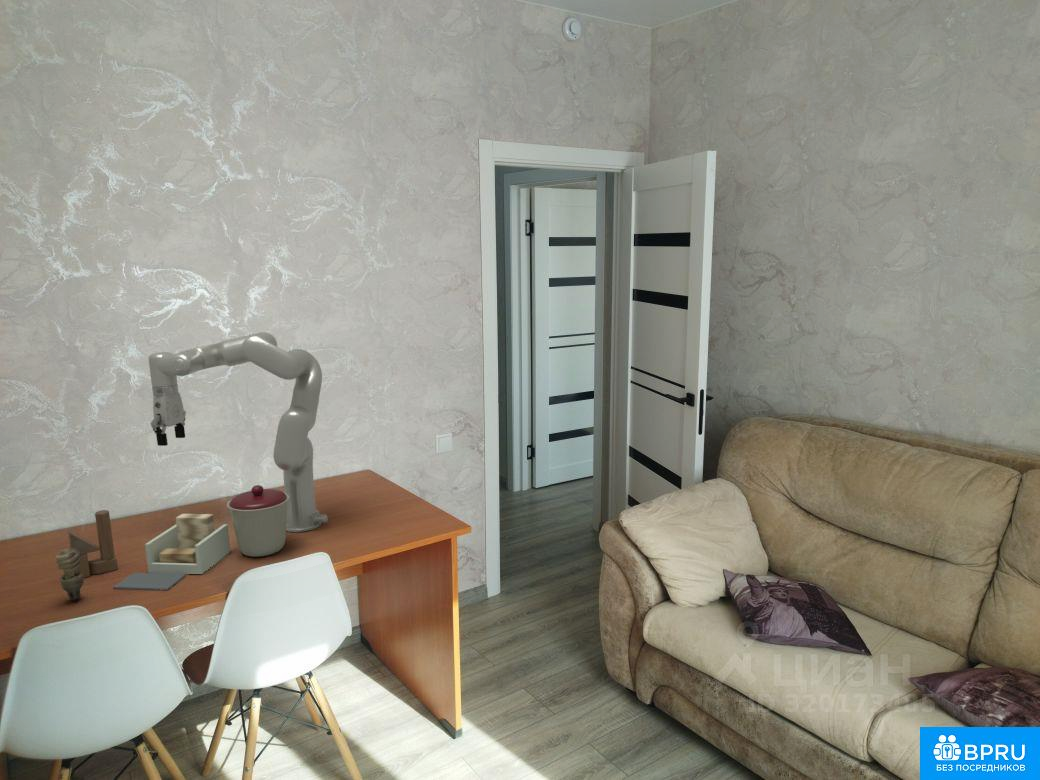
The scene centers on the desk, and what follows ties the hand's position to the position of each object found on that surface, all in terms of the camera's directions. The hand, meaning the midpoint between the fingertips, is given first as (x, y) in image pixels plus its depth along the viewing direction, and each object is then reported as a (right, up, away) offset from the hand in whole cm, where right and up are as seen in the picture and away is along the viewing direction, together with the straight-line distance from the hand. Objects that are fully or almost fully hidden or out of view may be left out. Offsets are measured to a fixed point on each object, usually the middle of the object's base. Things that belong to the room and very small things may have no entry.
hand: (171, 441), depth 241 cm
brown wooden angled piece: (-9, -37, -27) cm, 47 cm away
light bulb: (-5, -40, -44) cm, 60 cm away
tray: (+16, -35, -20) cm, 43 cm away
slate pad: (+10, -37, -34) cm, 52 cm away
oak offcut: (+15, -33, -26) cm, 45 cm away
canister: (+35, -33, -13) cm, 50 cm away
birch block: (+16, -34, -17) cm, 41 cm away
